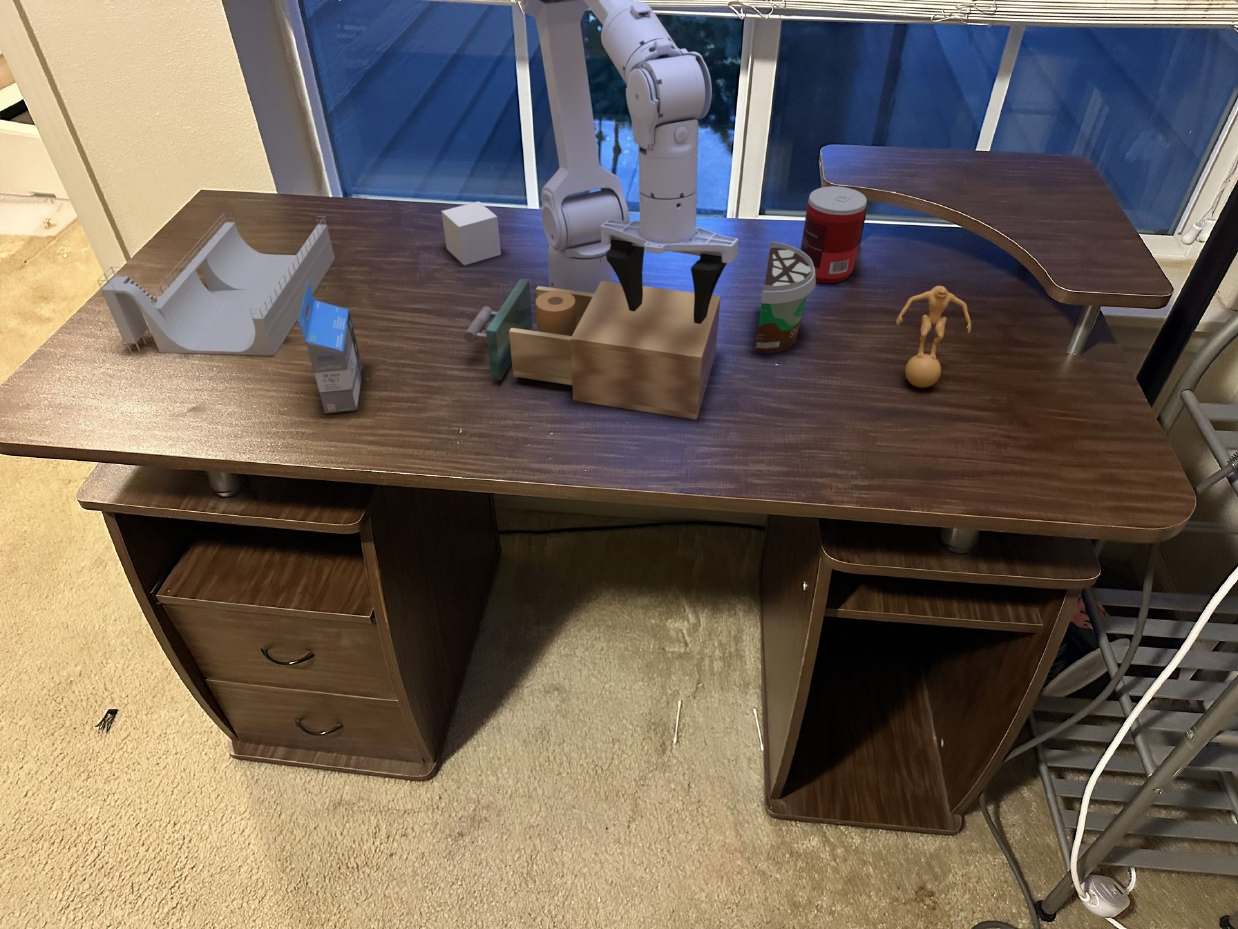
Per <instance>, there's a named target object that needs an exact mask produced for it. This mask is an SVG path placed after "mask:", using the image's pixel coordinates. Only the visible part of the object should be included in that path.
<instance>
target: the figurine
mask: <svg viewBox="0 0 1238 929" xmlns="http://www.w3.org/2000/svg"><path fill="white" fill-rule="evenodd" d="M924 300H927V304H928V315H927V314H924V315H922V316H921V326H920V337H919V342H920V343H919V347H918V352H917V354H916V355H914V356H912V357H911V358H910V359H909V360H908V361H907V363H906V365H905V369H904V373H905V377H906V379H907V381H908V382H909V384H910V385H912V386H914V387H916V388H923V389H925V388H929V387H931V386H933V385H935V384H936V383H937V381H938V380H939V379H940V377H941V374H942V367H941V363H940V361H939V360H938V359H937V355H936V351H937V345H938V344H939V343H940V342H941V341H942V340H943V338H944V335H945V331H946V330H945V329H946V328H945V326H946V322H947V321H948V319H947V317H946V316H942V314H943V313H944V311H945V309H946V308H948V306H949V303H950V302H951V303H953V304H954V305H957V306H959V307H962V311H963V313H964V319H965V321H966V323H967V326H966V329H967V333H968V334H970V333H971V330H972V322H971V318H970V315H969V312H968V305H967V303H966V302H964V301H963V300H961V299H960V298H958V297H956V295H954V294H953V293H951V292H950V291H948V289H947V288H946V287H945V286H943V285H936V286H933V288H931V290H928V291H924V292H923V293H921V294H917V295H914V296H911V297H909V299H908V300H907V301H906V304H905V305H904V306H903V308H902V309H901V311H900V313H899V315H898V316H897V318H896V321H895V324H896V325H899V324H900V323H903V318H902V317H903V316H904V315H905V313H906V312H907V311H908V309H909V307H910V306H911V305H912V303H913V302H918V301H924ZM932 325H935V327H934V332H935V334H936V337H935V338H933V342H932V346H931V350H930V354H928V353H924V349H925V348H924V347H925V341H927V336H928V334H929V332H930V331H931V330H932Z"/></svg>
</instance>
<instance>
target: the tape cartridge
mask: <svg viewBox="0 0 1238 929" xmlns="http://www.w3.org/2000/svg"><path fill="white" fill-rule="evenodd" d="M307 308H308V313H307ZM306 314H307V316H306ZM297 324H298V327H299V329H300V332H301V334H302V337H303V339H304V343H305V345H306V349H307V353H308V356H309V360H310V363H311V368H312V370H313V374H314V378H315V382H316V386H317V389H318V392H319V395H320V396H319V397H320V400H321V403H322V407H323V412H324V414H325V415H328V414H339V413H348V412H356V411H358V409H359V401H360V394H361V386H362V379H363V378H362V377H363V370H364V367H363V362H362V358H361V354H360V351H359V347H358V342H357V338H356V334H355V328H354V325H353V321H352V317H351V312H350V310H349V309H348V308H344V307H341V306H337V305H334V304H329V303H326V302H323V301H321V300H316V299H315V297H314V294H312V290H311V287H310V284H309V281H308V283H307V286H306V290H305V294H304V298H303V301H302V305H301V309H300V313H299V317H298V319H297Z"/></svg>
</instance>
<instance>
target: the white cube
mask: <svg viewBox="0 0 1238 929" xmlns="http://www.w3.org/2000/svg"><path fill="white" fill-rule="evenodd" d="M440 211H441V213H440V214H441V219H442V225H443V233H444V239H445V240H444V241H445V246H446V250H447V251H448V252H449V253H450V254H451V255H452V256H454V257H455V259H456V260H458V261H459V263H461V264H462V265H463V266H467V265H470V264H473V263H477V262H480V261H484V260H487V259H491V258H494V257H498V256H501V255H502V253H501V252H502V251H501V241H500V231H499V220H498V216H497V215H496V214H495V213H494V212H493V211H491V210H490V209H489V208H487V207H486V206H485V205H484V204H482V203H481V202H480V201H475V202H471V203H467V204H463V205H459V206H455V207H451V208H448V209H444V210H440Z"/></svg>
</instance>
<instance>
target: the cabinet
mask: <svg viewBox="0 0 1238 929" xmlns="http://www.w3.org/2000/svg"><path fill="white" fill-rule="evenodd" d="M721 297H722V296H721V295H716V294H712V297H711V300H710V304H709V308H708V313H707V317H706V318H705V319H704V321H703V322H702V323H701V324H697V323H694V300H695V296H694V291H686V290H685V291H684V290H677V289H668V288H663V287H662V288H660V287H653V286H645V285H643V299H642V304H641V305H640V306H639V307H638V309H637V310H636V311H635V312H634V311H629V307H628V304H627V300H626V297H625V294H624V291H623V288H622V286H621V283H620V282H615V281H614V282H608V281H601V282H600V284H599V286H598V288H597V290H596V292H595V294H594V295H593V297H592V299H591V301H590V303H589V305H588V307H587V309H586V311H585V312H584V314H583V316H582V318H581V320H580V322H579V324H578V326H577V328H576V329H575V331H574V333H573V335H572V337H571V360H572V385H571V386H572V401H573V402H580V403H587V404H591V405H592V404H593V405H597V406H598V405H599V406H606V407H612V408H619V409H624V410H625V409H626V410H632V411H638V412H642V413H643V412H645V413H650V414H657V415H664V416H668V417H669V416H670V417H676V418H683V419H689V420H698V417H699V413H700V410H701V407H702V402H703V400H704V396H705V392H706V389H707V386H708V382H709V378H710V375H711V372H712V368H713V365H714V361H715V359H716V352H717V351H716V350H717V341H718V332H719V331H718V329H719V320H720V310H721V299H722V298H721Z"/></svg>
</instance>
